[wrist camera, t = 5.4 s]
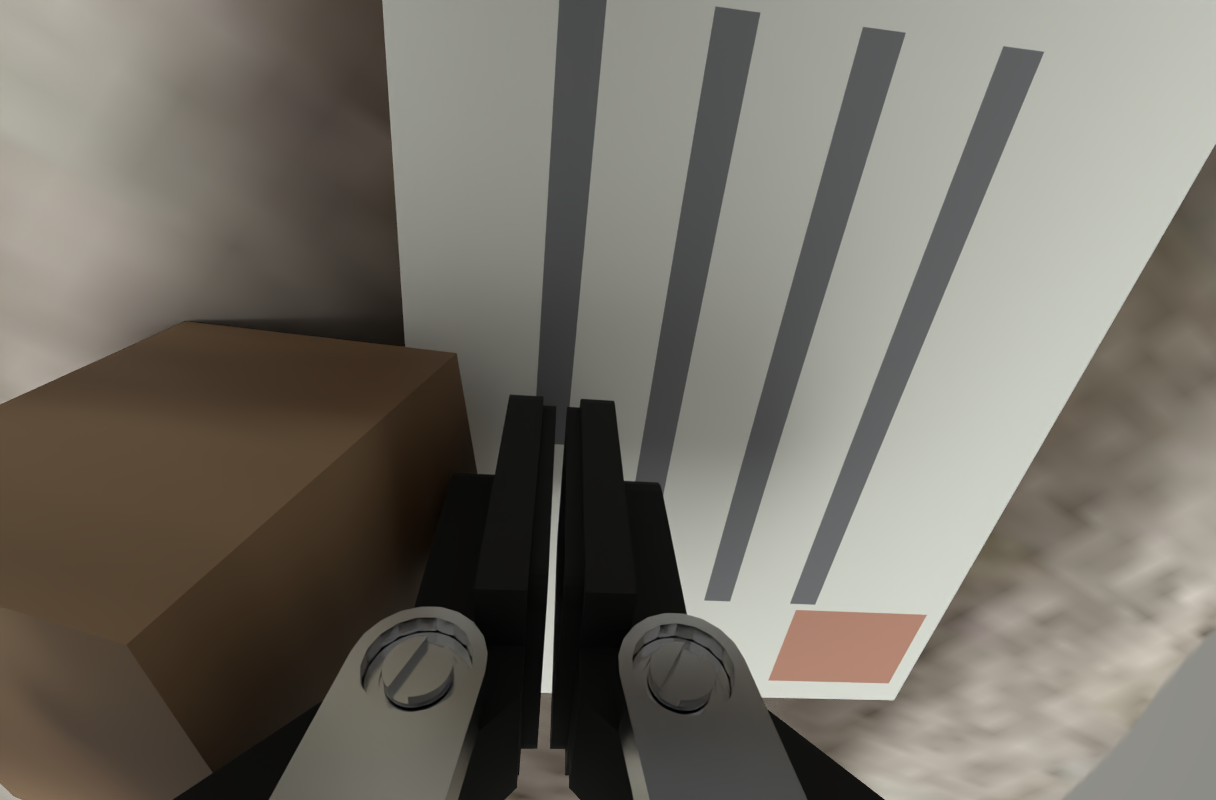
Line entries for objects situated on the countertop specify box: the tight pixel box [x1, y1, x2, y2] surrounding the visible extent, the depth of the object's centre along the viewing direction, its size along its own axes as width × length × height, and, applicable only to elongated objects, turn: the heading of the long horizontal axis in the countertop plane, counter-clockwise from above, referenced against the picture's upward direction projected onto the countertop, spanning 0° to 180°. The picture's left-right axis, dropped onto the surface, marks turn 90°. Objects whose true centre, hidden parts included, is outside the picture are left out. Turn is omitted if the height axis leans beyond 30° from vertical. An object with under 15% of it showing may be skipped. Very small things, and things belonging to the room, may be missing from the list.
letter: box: [382, 0, 1216, 700], centre depth 11 cm, size 16×12×1 cm
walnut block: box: [0, 321, 478, 800], centre depth 8 cm, size 5×5×5 cm
